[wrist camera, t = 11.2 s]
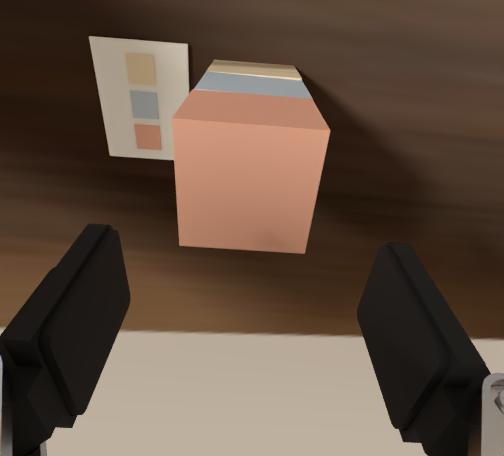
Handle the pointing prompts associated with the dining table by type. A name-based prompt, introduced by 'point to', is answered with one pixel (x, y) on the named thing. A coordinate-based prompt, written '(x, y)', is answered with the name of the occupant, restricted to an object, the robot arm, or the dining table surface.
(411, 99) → the dining table surface
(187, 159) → the terracotta brick
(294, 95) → the slate blue brick
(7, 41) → the dining table surface
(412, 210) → the dining table surface
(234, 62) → the maple brick
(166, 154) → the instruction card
